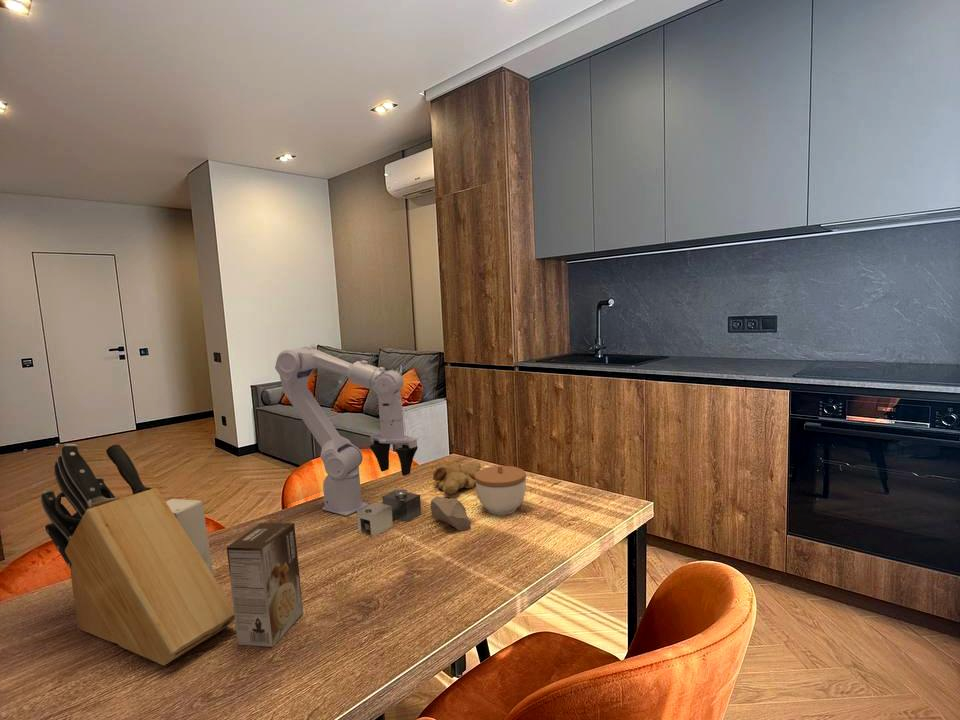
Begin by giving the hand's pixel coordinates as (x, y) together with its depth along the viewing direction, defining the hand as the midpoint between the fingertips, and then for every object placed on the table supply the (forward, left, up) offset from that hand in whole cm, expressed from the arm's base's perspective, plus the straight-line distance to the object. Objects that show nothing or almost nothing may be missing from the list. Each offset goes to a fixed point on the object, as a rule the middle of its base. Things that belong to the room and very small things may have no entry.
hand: (395, 472), depth 129 cm
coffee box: (+16, -46, -10) cm, 50 cm away
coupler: (+3, -6, -10) cm, 12 cm away
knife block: (-5, -57, -10) cm, 58 cm away
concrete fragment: (+16, +1, -10) cm, 19 cm away
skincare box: (-13, -46, -10) cm, 49 cm away
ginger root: (+2, +20, -10) cm, 23 cm away
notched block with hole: (+3, -11, -10) cm, 15 cm away
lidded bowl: (+23, +13, -10) cm, 28 cm away
